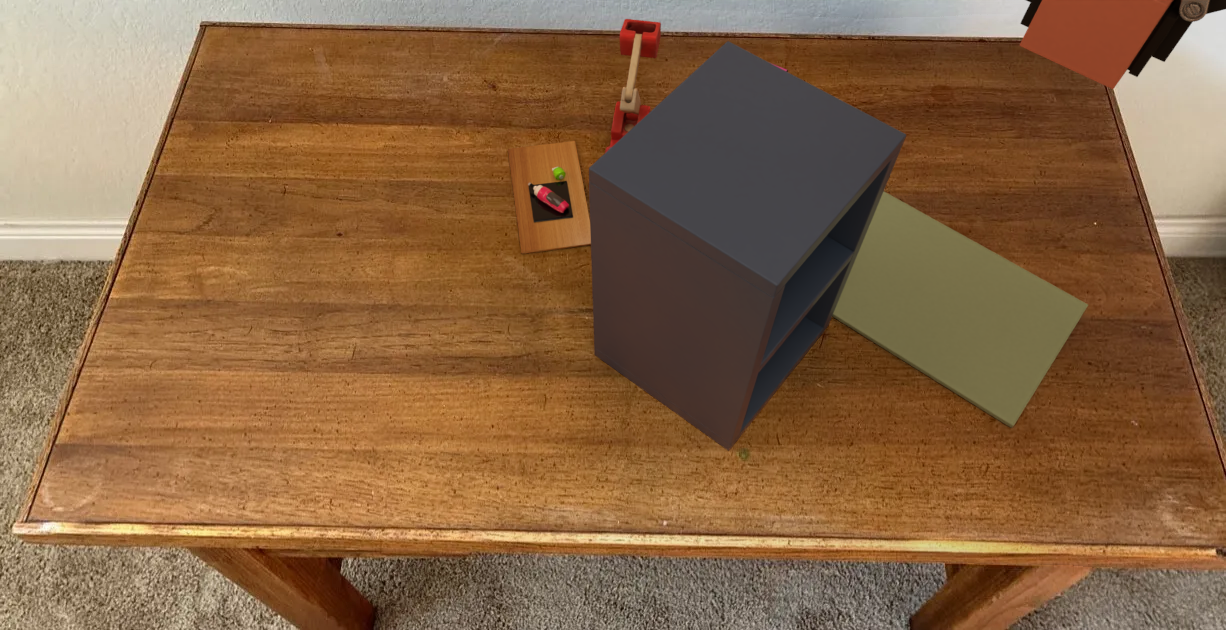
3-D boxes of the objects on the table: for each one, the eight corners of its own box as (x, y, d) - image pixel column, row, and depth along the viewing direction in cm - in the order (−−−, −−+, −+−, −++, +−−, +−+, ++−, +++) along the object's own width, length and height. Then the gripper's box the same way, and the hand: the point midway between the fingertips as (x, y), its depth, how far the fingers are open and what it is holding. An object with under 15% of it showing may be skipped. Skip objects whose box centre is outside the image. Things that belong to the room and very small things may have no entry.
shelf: (828, 326, 70) (907, 134, 51) (728, 451, 64) (777, 285, 45) (698, 244, 74) (727, 40, 56) (594, 354, 68) (588, 167, 50)
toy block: (1150, 36, 49) (1207, -49, 45) (1112, 89, 47) (1168, 5, 42) (1059, -4, 51) (1104, -90, 46) (1018, 46, 49) (1061, -40, 44)
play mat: (1086, 307, 71) (1088, 304, 71) (1011, 428, 65) (1013, 426, 65) (873, 188, 78) (874, 185, 77) (788, 289, 72) (788, 286, 71)
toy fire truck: (599, 202, 77) (598, 124, 68) (623, 94, 84) (624, 11, 76) (637, 207, 76) (640, 129, 68) (657, 98, 84) (662, 15, 75)
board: (575, 142, 80) (574, 131, 79) (594, 244, 74) (593, 234, 73) (508, 150, 80) (506, 139, 79) (521, 254, 74) (519, 243, 72)
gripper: (1578, -307, 32) (1264, 68, 47) (1128, -425, 38) (978, -55, 53) (1540, -226, 29) (1217, 147, 44) (1056, -367, 35) (919, 7, 50)
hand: (1088, 34), depth 49 cm, fingers closed on toy block, 5 cm apart
